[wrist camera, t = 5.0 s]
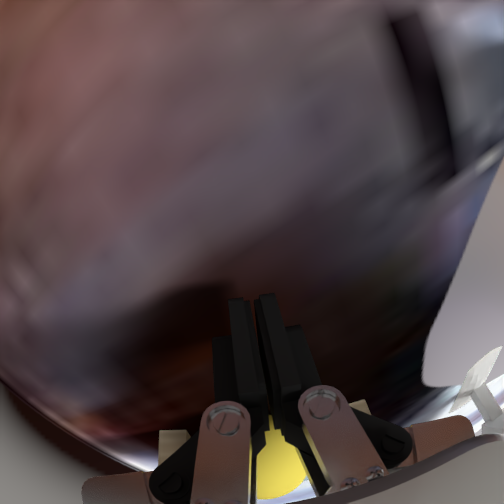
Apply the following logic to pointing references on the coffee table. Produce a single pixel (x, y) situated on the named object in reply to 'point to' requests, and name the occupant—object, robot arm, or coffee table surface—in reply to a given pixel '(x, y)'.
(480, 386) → the heart sculpture
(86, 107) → the coffee table surface
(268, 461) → the ball
